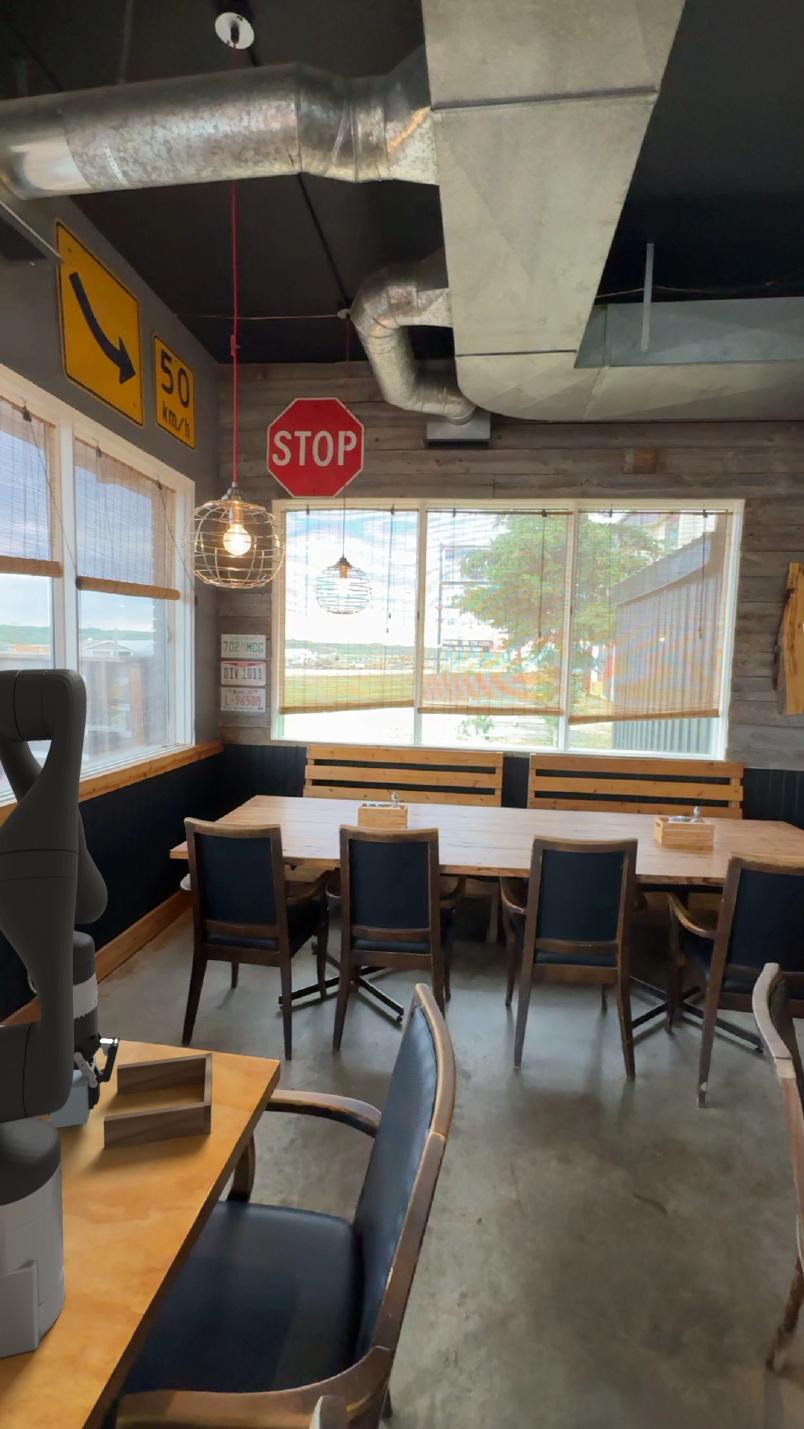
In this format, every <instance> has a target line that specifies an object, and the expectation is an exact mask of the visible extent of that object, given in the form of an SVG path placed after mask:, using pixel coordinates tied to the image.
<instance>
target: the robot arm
mask: <svg viewBox="0 0 804 1429" xmlns="http://www.w3.org/2000/svg"><path fill="white" fill-rule="evenodd" d="M87 702H88V697H87V688H86V684H85V681H84V678H83V677H82V675H81V674H80V672H78V671H77V670H74V669H70V668H69V669H68V668H38V669H37V668H36V669H35V668H34V669H33V668H32V669H31V668H30V669H4V670H0V764H1V766H2V769H3V771H4V774H5V777H6V778H7V781H8V783H9V786H10V788H11V790H12V792H13V795H14V798H15V799H16V802H17V804H16V805H15V807H14V808H13V810H11V812H10V814H9V815H8V816H7V818H6V819H5V820H4V822H2V824H1V825H0V931H1V932H2V934H3V935H4V936H5V938H6V940H7V941H8V942H9V944H10V945H11V946H12V948H13V949H14V951H15V952H16V954H17V955H18V957H19V958H20V959H21V961H22V963H23V965H24V966H25V969H26V971H27V972H28V974H29V976H30V978H31V980H32V982H33V986H34V988H35V992H36V995H37V998H38V999H37V1000H38V1004H39V1012H40V1019H39V1020H37V1021H29V1022H22V1023H16V1024H10V1025H9V1024H8V1025H5V1026H4V1025H3V1026H0V1359H1V1358H4V1357H6V1358H7V1357H9V1356H10V1357H11V1356H14V1355H18V1354H22V1353H27V1352H32V1351H35V1350H37V1349H38V1348H39V1346H40V1342H41V1340H42V1338H43V1337H44V1335H45V1334H46V1333H47V1332H48V1331H49V1329H50V1328H51V1327H53V1325H54V1324H55V1321H56V1320H57V1319H58V1318H59V1316H60V1314H61V1311H62V1310H63V1306H64V1304H65V1297H66V1296H65V1290H66V1289H65V1288H66V1287H65V1261H64V1260H65V1259H64V1258H65V1257H64V1219H63V1218H64V1216H63V1215H64V1214H63V1212H64V1210H63V1175H62V1174H63V1173H62V1172H63V1170H62V1168H63V1167H62V1142H61V1140H62V1139H61V1135H60V1133H59V1130H58V1129H57V1128H55V1126H54V1125H52V1124H51V1123H50V1121H48V1120H44V1119H42V1118H38V1117H39V1116H45V1115H47V1116H50V1113H53V1112H56V1111H58V1110H60V1109H61V1108H63V1106H64V1105H65V1104H66V1102H67V1100H68V1097H69V1095H70V1091H71V1087H72V1081H73V1072H74V1070H80V1071H81V1073H82V1075H83V1077H85V1078H86V1080H87V1081H88V1084H89V1088H88V1106H89V1110H90V1111H91V1110H95V1109H94V1108H95V1106H97V1105H98V1103H99V1101H100V1098H101V1097H100V1096H101V1083H108V1082H110V1080H111V1078H112V1074H113V1070H114V1066H115V1062H116V1058H117V1054H118V1049H119V1046H120V1043H121V1039H120V1037H119V1036H114V1037H112V1039H107V1038H103V1037H102V1035H101V1034H100V1032H99V1016H98V1015H99V1012H98V1010H99V1009H98V1006H99V1004H98V999H99V991H98V981H97V975H96V960H95V959H96V949H95V946H96V945H95V940H94V938H93V937H92V936H91V935H89V934H87V933H84V932H80V931H76V930H75V925H86V924H91V923H94V922H96V921H98V919H100V918H101V916H102V915H103V914H104V912H105V910H106V908H107V905H108V904H107V903H108V889H107V885H106V883H105V880H104V878H103V876H102V874H101V872H100V871H99V869H98V867H97V866H96V863H95V862H94V860H93V858H92V856H91V854H90V853H89V851H88V849H87V843H86V836H85V828H84V824H83V819H82V815H81V811H80V809H79V795H80V779H81V769H82V760H83V750H84V742H85V732H86V722H87V714H88V713H87V712H88V710H87V708H88V707H87V706H88V703H87ZM40 741H50V746H49V748H48V751H47V755H46V758H45V760H44V764H43V766H41V764H40V763H39V762H38V760H37V759H36V758H35V756H34V754H33V753H32V750H31V748H30V745H29V743H28V742H40ZM99 1049H101V1050H102V1053H103V1055H104V1057H107V1058H106V1061H105V1065H104V1068H101V1069H100V1068H99V1066H98V1065H97V1059H96V1057H95V1055H96V1053H97V1052H98V1051H99Z"/></svg>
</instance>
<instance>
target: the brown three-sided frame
mask: <svg viewBox="0 0 804 1429" xmlns="http://www.w3.org/2000/svg"><path fill="white" fill-rule="evenodd" d="M202 1083H204V1094H203V1097H204V1098H203V1101H201V1102H194V1103H188V1104H180V1105H174V1106H173V1105H172V1106H168V1107H167V1106H166V1107H160V1108H153V1109H152V1108H151V1109H146V1110H140V1111H139V1110H138V1111H134V1112H133V1111H132V1112H125V1113H119V1114H113V1115H105V1116H104V1119H103V1150H109V1149H111V1150H112V1149H117V1148H122V1147H129V1146H134V1145H142V1144H146V1143H147V1144H148V1143H155V1142H160V1141H169V1140H172V1139H174V1140H175V1139H179V1138H185V1137H193V1136H197V1135H205V1134H210V1133H212V1108H213V1107H212V1104H213V1102H212V1100H213V1096H212V1095H213V1052H209V1053H202V1054H193V1055H186V1056H178V1057H170V1058H169V1057H168V1058H162V1059H155V1060H147V1061H139V1062H132V1063H125V1064H124V1063H122V1064H117V1067H116V1084H117V1085H116V1088H117V1089H116V1094H117V1095H124V1094H130V1093H136V1092H137V1093H139V1092H145V1091H152V1090H157V1089H158V1090H159V1089H160V1090H161V1089H166V1088H174V1087H181V1086H189V1085H195V1084H202Z"/></svg>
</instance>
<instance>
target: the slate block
mask: <svg viewBox="0 0 804 1429" xmlns="http://www.w3.org/2000/svg"><path fill="white" fill-rule="evenodd" d="M88 1088H89V1084H88V1081H87V1080H86V1078H85V1077H83V1075H82V1073H81V1071H80V1070H74V1072H73V1081H72V1087H71V1091H70V1095H69V1097H68V1100H67V1102H66V1104H65V1105H64V1106H63V1108H61V1109H60V1110H58V1111H56V1112H53V1113H50V1115H49V1123H51V1124H52V1125H54V1126H55V1128H56V1129H57V1128H63V1127H69V1126H77V1125H82V1124H83V1125H84V1124H87V1123H88V1122H89V1121H88V1119H89V1116H90V1113H91V1110H89V1106H88Z"/></svg>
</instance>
